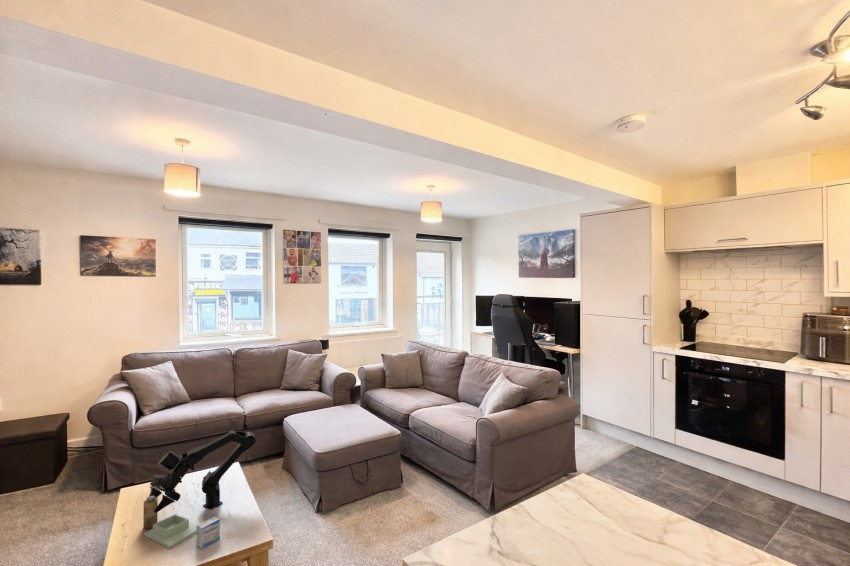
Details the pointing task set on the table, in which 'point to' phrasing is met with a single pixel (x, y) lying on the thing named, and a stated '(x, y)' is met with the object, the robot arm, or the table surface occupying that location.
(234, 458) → the robot arm
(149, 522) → the pepper mill
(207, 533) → the medicine box
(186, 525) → the sage tray
